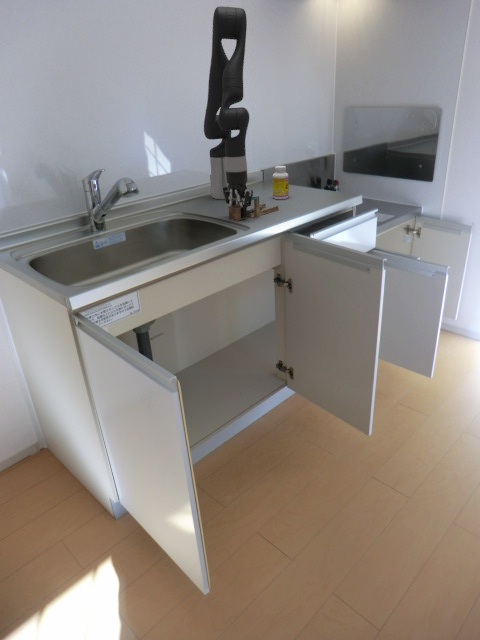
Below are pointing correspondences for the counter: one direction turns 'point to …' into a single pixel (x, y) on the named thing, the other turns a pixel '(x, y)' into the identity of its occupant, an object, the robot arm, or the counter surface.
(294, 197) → the counter surface
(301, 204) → the counter surface
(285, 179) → the supplement bottle
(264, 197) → the counter surface
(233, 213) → the walnut cube
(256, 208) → the rail channel with trap bar
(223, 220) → the counter surface
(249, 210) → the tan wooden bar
